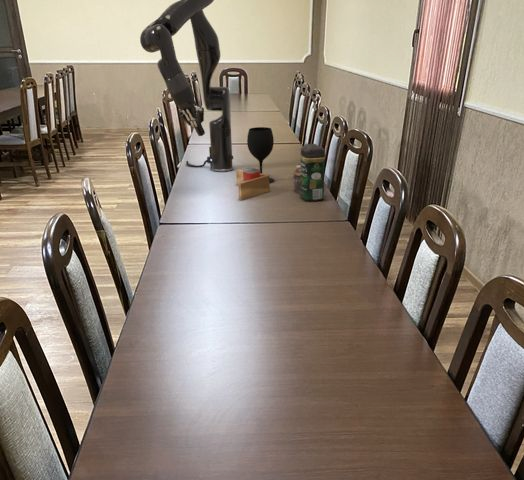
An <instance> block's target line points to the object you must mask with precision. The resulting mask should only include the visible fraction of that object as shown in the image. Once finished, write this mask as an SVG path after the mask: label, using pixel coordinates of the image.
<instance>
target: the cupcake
mask: <svg viewBox="0 0 524 480" xmlns="http://www.w3.org/2000/svg"><path fill="white" fill-rule="evenodd" d="M292 181H293V185H294V191H295V193H296V194H300V183H301V163H298V164H297V165H295V171H294V173H293V177H292Z"/></svg>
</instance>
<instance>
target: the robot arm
mask: <svg viewBox="0 0 524 480" xmlns="http://www.w3.org/2000/svg"><path fill="white" fill-rule="evenodd" d="M214 1H215V0H177V1H175V2H174V3H172V4H170V5H169V6H167V8H165V10H164V11H163V12H162V13H161V14H160V15H159V17H158V18H156V19H155V20H154V21H152V22H151V23H150V24H148V25H147V26H146V27H145V28H144V29H143V30H142V31H141V33H140V36H139V40H140V42H139V43H140V45H141V47H142V50H144V51H145V52H147V53H155V52H160V53H159V54H160V56H161V58H160V59H159V60H158V61H157V63H156V65H157V68H158V71H159V73H160V75H161V77H162V78H163V81H164V83H165V86H166V89H167V91H168V93H169V94H170V96H171V98H172V101H173V103H174V105H175V106H176V107H179V110H180V112H178V116H179V117H180V118H181V120H182V121H184V122H185V123H186V124H187V125H188V126H189V127H193V128H194V130H195V132H196V134H197V136H198V137H203V136H204V135H205V134H206V131H205V129H204V127H203V125H202V124H203V122H204V121H205V109H206V111H208V112H221V115H220V116H218V117H217V118H215V119H212V120H210V121H209V122H208V124H209V125H208V127H209V140H210V141H209V142H210V146H209V147H208V151H209V156H207V157H206V160H204V162H203V164H200V165H196V164H191V163H189V160H186V163H185V164H186V166H188V167H192V168H203V167H206V164H210V166H209V167H210V170H211V171H213V172H230V171H232V170H234V166H233V165H234V163H233V160H234V156H233V146H232V145H233V140H232V123H231V122H232V120H231V119H232V118H231V91H230V89H229V87H227V86H212V83H211V82H212V78H213V75H214V73H215V71H216V69H217V67H218V65H219V62H220V61H221V47H220V40H219V36H218V34H217V33H216V30H215V29H214V28H213V26H212V24H211V23H210V21H209V19H208V18H207V17H206V15H205V12H204V9H205V8H208V6H210V5H211V4H212V3H214ZM188 21H190V24H191V29H192V34H193V39H194V47H195V53H196V57H197V62H198V67H199V72H200V79H201V87H202V96H203V102H204V107H205V108H204V107H203V106H201V107H200V106H198V103H197V102H196V101H195V97H196V95H195V93H194V91H193V89H192V86H191V84H190V82H189V80H188V77H187V76H186V74H185V72H184V71H183V69H182V66H181V65H180V62H179V61H178V59H177V54H176V50H175V45H174V40H173V36H175V35H176V34H177V33H178V32H179V31H180V30H181V28H182V27H183V26H184V25H185V24H186V23H187V22H188Z"/></svg>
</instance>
